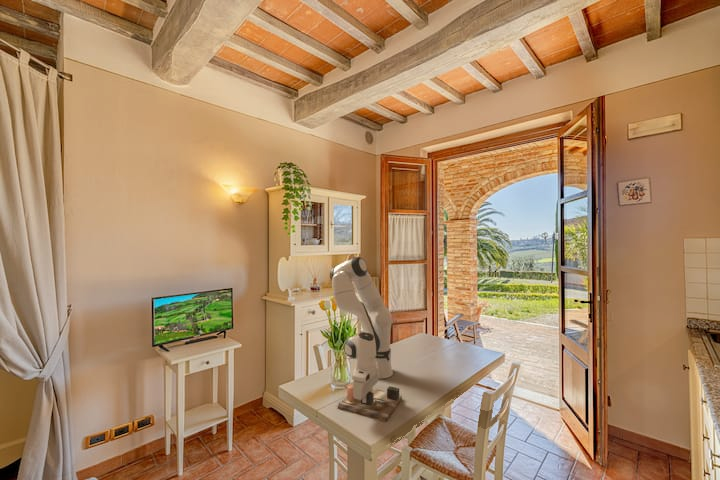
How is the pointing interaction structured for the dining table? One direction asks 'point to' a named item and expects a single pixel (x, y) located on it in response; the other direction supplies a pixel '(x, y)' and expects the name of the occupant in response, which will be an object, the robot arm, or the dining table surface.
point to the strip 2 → (387, 395)
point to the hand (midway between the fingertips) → (366, 399)
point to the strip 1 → (359, 403)
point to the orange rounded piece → (350, 393)
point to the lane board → (373, 408)
